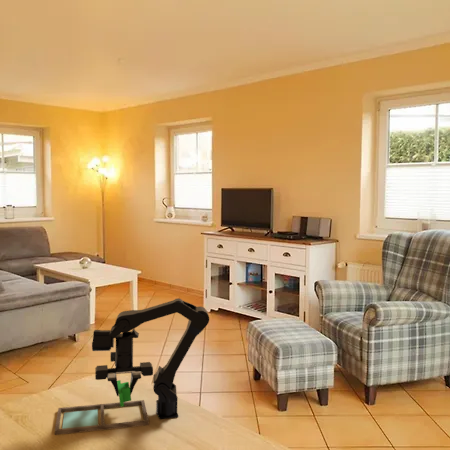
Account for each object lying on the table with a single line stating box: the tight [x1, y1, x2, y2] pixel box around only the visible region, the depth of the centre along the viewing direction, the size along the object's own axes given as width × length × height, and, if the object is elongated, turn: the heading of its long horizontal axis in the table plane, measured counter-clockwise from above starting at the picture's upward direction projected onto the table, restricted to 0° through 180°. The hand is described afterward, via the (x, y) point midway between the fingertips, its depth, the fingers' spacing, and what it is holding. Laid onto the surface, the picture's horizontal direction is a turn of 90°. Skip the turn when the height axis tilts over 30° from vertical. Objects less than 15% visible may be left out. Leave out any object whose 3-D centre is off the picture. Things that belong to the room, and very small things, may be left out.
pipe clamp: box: [117, 379, 132, 408], centre depth 162 cm, size 11×4×5 cm, turn 15°
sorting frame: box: [54, 399, 150, 435], centre depth 160 cm, size 29×16×1 cm, turn 105°
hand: (124, 395), depth 162 cm, fingers closed on pipe clamp, 4 cm apart
